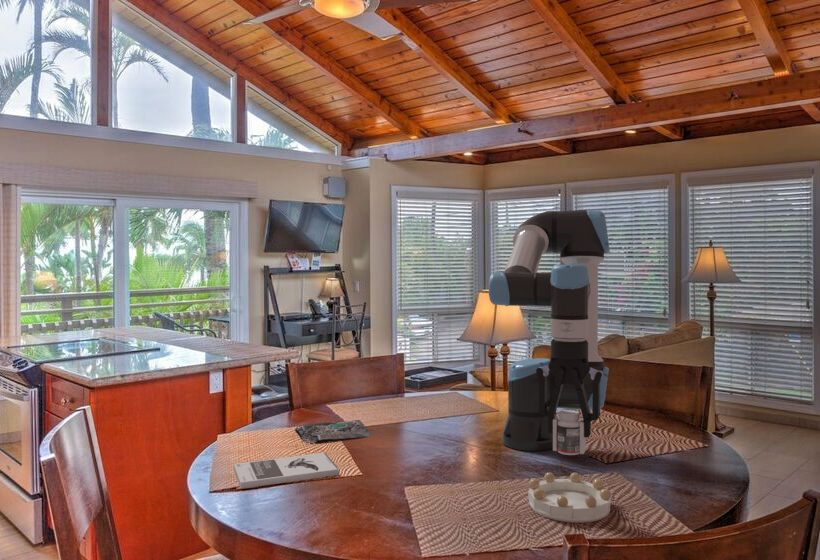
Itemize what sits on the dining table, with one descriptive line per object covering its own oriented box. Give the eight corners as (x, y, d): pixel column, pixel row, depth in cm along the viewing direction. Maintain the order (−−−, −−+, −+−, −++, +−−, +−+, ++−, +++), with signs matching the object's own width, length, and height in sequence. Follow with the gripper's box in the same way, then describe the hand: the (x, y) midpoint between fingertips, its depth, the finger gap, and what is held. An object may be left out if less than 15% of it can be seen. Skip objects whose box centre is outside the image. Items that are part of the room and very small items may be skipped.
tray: (519, 514, 128) (519, 491, 128) (538, 486, 143) (538, 466, 143) (605, 529, 121) (605, 504, 121) (615, 497, 136) (615, 476, 136)
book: (240, 491, 143) (240, 482, 143) (233, 471, 156) (233, 463, 156) (339, 477, 152) (338, 469, 152) (324, 459, 165) (324, 452, 165)
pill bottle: (554, 449, 133) (554, 409, 133) (576, 448, 134) (576, 409, 134) (561, 455, 129) (561, 415, 128) (584, 455, 129) (584, 414, 129)
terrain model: (305, 447, 176) (305, 436, 176) (295, 433, 190) (294, 422, 190) (374, 439, 184) (374, 428, 183) (359, 426, 198) (359, 415, 197)
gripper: (522, 339, 131) (522, 450, 132) (612, 343, 123) (611, 461, 124) (531, 334, 138) (531, 440, 139) (616, 338, 130) (615, 450, 131)
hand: (569, 450), depth 131 cm, fingers closed on pill bottle, 5 cm apart
